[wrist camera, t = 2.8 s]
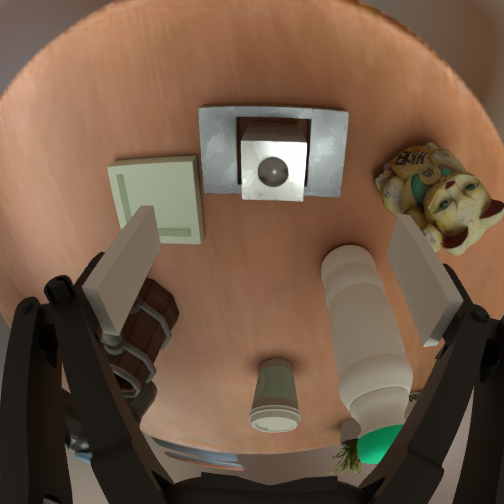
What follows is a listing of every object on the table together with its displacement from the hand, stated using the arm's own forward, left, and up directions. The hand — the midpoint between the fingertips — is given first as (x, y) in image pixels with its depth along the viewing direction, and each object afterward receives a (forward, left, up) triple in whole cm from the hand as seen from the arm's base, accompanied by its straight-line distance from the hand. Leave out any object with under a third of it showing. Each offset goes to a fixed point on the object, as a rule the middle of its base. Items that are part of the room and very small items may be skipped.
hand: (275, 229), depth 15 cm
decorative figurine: (+16, -2, -17) cm, 24 cm away
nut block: (0, 0, -17) cm, 17 cm away
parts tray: (-13, -6, -17) cm, 22 cm away
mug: (-19, -22, -17) cm, 34 cm away
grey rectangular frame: (0, 0, -17) cm, 17 cm away
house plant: (+23, -69, -17) cm, 75 cm away
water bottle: (+10, -15, -17) cm, 25 cm away
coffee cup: (+2, -39, -17) cm, 43 cm away
